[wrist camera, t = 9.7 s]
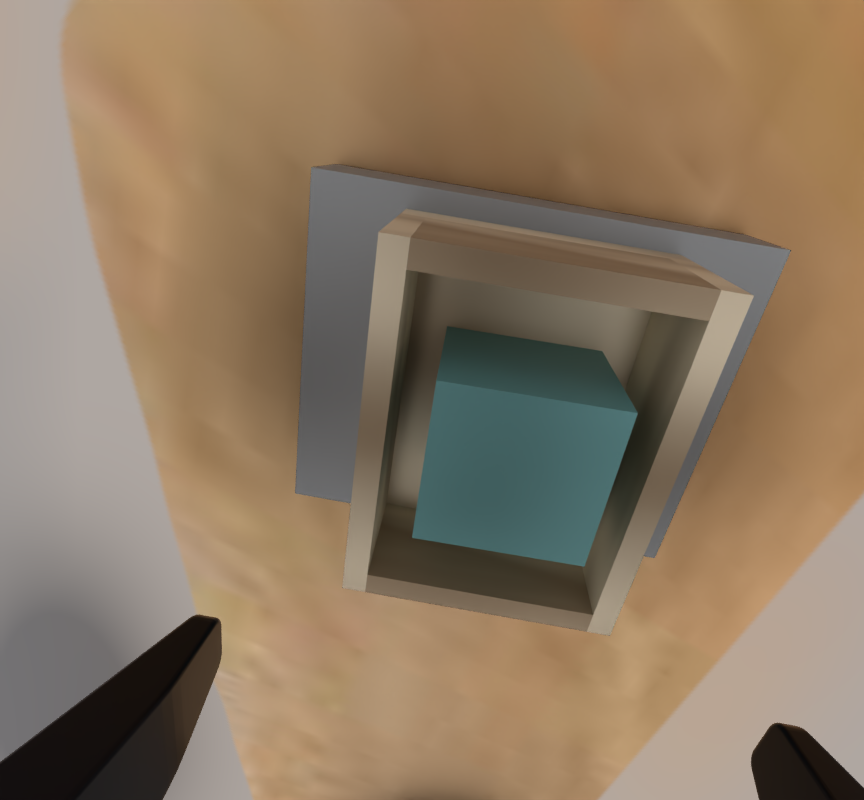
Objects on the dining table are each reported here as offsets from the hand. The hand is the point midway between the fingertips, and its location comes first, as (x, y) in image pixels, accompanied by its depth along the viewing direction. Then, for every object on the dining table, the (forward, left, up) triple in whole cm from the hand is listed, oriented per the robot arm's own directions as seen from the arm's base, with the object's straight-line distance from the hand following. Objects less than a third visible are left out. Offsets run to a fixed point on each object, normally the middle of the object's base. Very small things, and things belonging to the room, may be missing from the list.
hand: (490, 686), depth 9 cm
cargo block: (+2, 0, -7) cm, 7 cm away
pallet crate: (+2, 0, -8) cm, 8 cm away
